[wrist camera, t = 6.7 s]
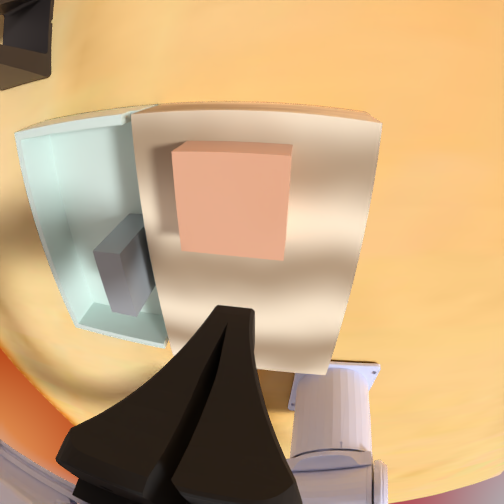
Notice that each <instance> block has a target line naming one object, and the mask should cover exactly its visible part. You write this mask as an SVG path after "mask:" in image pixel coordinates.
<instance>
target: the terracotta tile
mask: <svg viewBox="0 0 504 504" xmlns="http://www.w3.org/2000/svg"><path fill="white" fill-rule="evenodd" d="M292 149H293V145H291V144H277V143H261V142H238V141H186V142H185V143H183V144H182V145H180V146H179V147H177V148H176V149H174V150H173V151H172V152H171V153H172V165H173V177H174V188H175V199H176V208H177V218H178V227H179V235H180V243H181V251H188V252H198V253H208V254H218V255H228V256H239V257H249V258H259V259H269V260H280V261H284V254H285V246H286V237H287V224H288V211H289V197H290V182H291V166H292Z"/></svg>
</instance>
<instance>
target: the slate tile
mask: <svg viewBox="0 0 504 504" xmlns="http://www.w3.org/2000/svg"><path fill="white" fill-rule="evenodd" d="M93 254H94V257H95V261H96V264H97V267H98V271H99V274H100V277H101V280H102V283H103V287H104V290H105V293H106V296H107V299H108V301H109V304H110V307H111V310H112V312H115V313H120V314H125V315H129V316H134V317H137V316H138V314H139V313H140V311H141V309H142V307H143V306H144V304H145V302H146V301H147V299H148V297H149V296H150V294H151V292H152V291H153V289H154V287H155V286H156V284H155V279H154V275H153V270H152V265H151V260H150V255H149V249H148V244H147V238H146V233H145V227H144V221H143V215H142V214H132V213H129V214H128V215H127V216H126V217H125V218H124V219H123V220H122V221H121V222H120V223H119V224H118V225H117V226H116V227H115V228H114V229H113V230H112V231H111V232H110V233H109V234H108V235H107V236H106V237H105V238H104V239H103V241H102V242H101V243H100V244H99V245H98V246H97V247H96V248H95V249H94V250H93Z"/></svg>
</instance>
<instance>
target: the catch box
mask: <svg viewBox="0 0 504 504" xmlns="http://www.w3.org/2000/svg"><path fill="white" fill-rule="evenodd" d="M157 105H158V104H153V105H142V106H132V107H123V108H115V109H107V110H100V111H93V112H87V113H81V114H75V115H70V116H64V117H59V118H54V119H49V120H45V121H43V122H40V123H37V124H35V125H32V126H30V127H27V128H25V129H22V130H20V131H18V132H15V140H16V145H17V151H18V156H19V161H20V166H21V171H22V175H23V179H24V184H25V188H26V192H27V196H28V200H29V203H30V207H31V211H32V214H33V217H34V221H35V224H36V227H37V231H38V234H39V237H40V240H41V243H42V246H43V249H44V252H45V255H46V257H47V260H48V263H49V266H50V268H51V271H52V273H53V276H54V279H55V281H56V284H57V286H58V289H59V291H60V293H61V296H62V298H63V300H64V303H65V305H66V307H67V309H68V312H69V314H70V316H71V318H72V320H73V323H74V325H75V327H77V328H81V329H84V330H88V331H92V332H96V333H99V334H103V335H107V336H111V337H115V338H119V339H123V340H128V341H132V342H136V343H141V344H145V345H150V346H155V347H159V348H164V349H165V347H166V345H167V343H168V340H169V338H168V334H167V330H166V326H165V322H164V318H163V314H162V310H161V305H160V301H159V296H158V292H157V287H156V286H155V287H154V289H153V291H152V292H151V294H150V296H149V297H148V299H147V301H146V302H145V304H144V306H143V307H142V309H141V311H140V313H139V314H138V316H137V317H134V316H129V315H125V314H120V313H115V312H112V310H111V307H110V304H109V301H108V299H107V296H106V293H105V290H104V287H103V283H102V280H101V277H100V274H99V271H98V267H97V264H96V261H95V257H94V254H93V250H94V249H95V248H96V247H97V246H98V245H99V244H100V243H101V242H102V241H103V239H104V238H105V237H106V236H107V235H108V234H109V233H110V232H111V231H112V230H113V229H114V228H115V227H116V226H117V225H118V224H119V223H120V222H121V221H122V220H123V219H124V218H125V217H126V216H127V215H128V214H129V213H132V214H142V215H143V213H142V206H141V200H140V193H139V186H138V178H137V171H136V162H135V154H134V145H133V135H132V124H131V114H133V113H136V112H139V111H142V110H145V109H148V108H151V107H154V106H157ZM143 221H144V219H143ZM144 227H145V225H144ZM145 233H146V231H145ZM146 238H147V237H146ZM147 244H148V242H147ZM148 249H149V248H148ZM149 255H150V253H149ZM150 260H151V258H150ZM151 265H152V263H151ZM152 270H153V268H152ZM153 275H154V273H153ZM154 279H155V278H154ZM155 284H156V283H155Z"/></svg>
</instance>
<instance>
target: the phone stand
mask: <svg viewBox="0 0 504 504" xmlns="http://www.w3.org/2000/svg"><path fill="white" fill-rule="evenodd" d="M53 7H54V0H0V15H4V17H5V19H4V33H3V45H0V89H1V90H4V89H7V88H10V87H14V86H17V85H20V84H24V83H27V82H31V81H34V80H38V79H42V78H46V77H49V76H50V75H51V39H52V23H51V20H52V19H53Z"/></svg>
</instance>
